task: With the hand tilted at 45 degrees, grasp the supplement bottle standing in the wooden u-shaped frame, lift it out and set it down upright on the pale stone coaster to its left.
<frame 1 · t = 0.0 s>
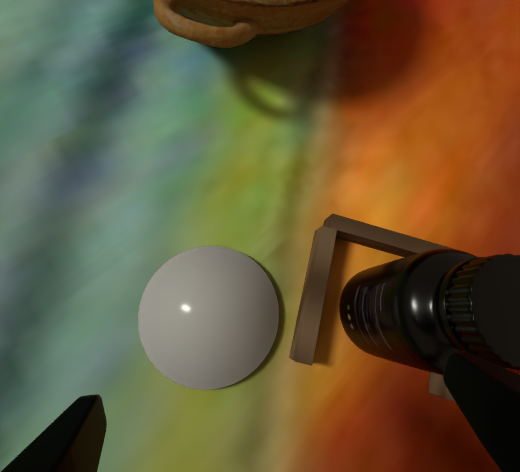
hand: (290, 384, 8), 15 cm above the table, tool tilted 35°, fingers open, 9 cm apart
supplement bottle: (375, 310, 24), on the table
coaster: (211, 313, 22), on the table
wooden u-shaped frame: (376, 310, 24), on the table
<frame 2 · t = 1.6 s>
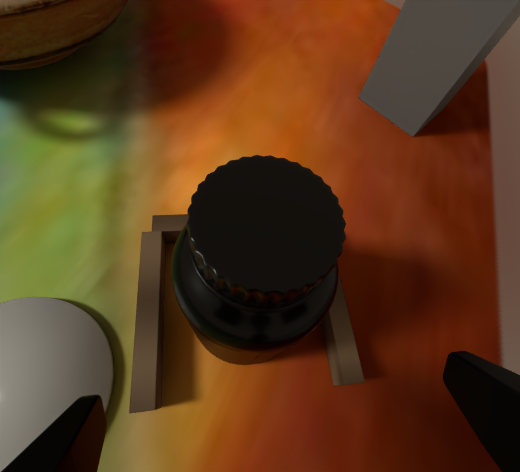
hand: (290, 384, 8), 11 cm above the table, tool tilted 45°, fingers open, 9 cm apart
perfume bottle: (401, 104, 31), on the table
supplement bottle: (243, 309, 20), on the table
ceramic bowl: (24, 34, 29), on the table
coaster: (14, 391, 16), on the table
wooden u-shaped frame: (243, 309, 19), on the table
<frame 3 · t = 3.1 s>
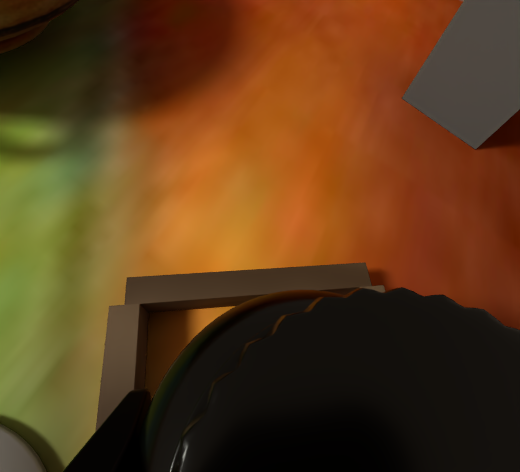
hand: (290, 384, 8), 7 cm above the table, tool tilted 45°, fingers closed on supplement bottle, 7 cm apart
perfume bottle: (455, 106, 24), on the table
supplement bottle: (263, 419, 13), on the table, touching gripper
wooden u-shaped frame: (263, 419, 13), on the table
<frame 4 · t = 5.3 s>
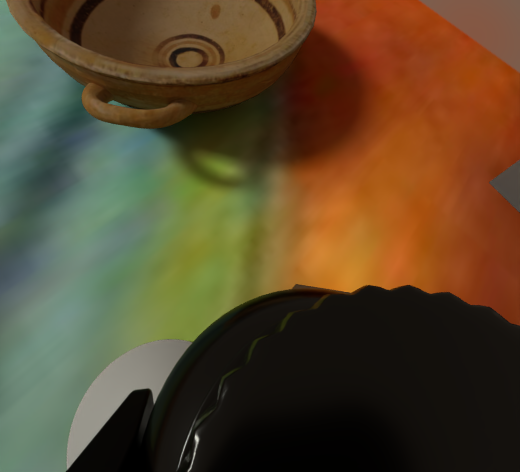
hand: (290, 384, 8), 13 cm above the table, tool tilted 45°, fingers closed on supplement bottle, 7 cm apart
supplement bottle: (265, 418, 13), point 6 cm above the table, touching gripper
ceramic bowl: (183, 71, 32), on the table
coaster: (162, 428, 18), on the table
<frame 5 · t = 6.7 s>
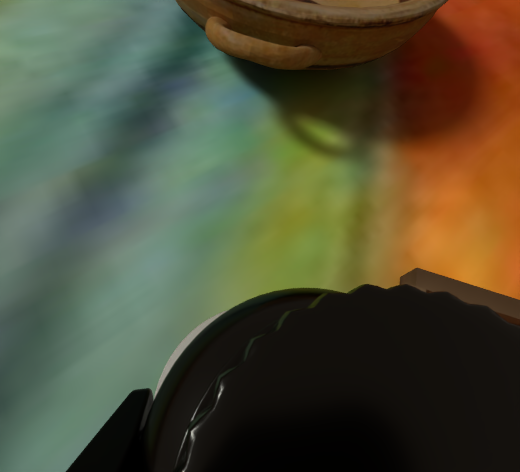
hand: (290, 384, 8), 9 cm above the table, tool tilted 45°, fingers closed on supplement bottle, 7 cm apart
supplement bottle: (264, 417, 13), point 2 cm above the table, touching gripper
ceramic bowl: (285, 34, 30), on the table
coaster: (255, 406, 15), on the table
wooden u-shaped frame: (490, 410, 16), on the table
when the fingers open (8 cm above the table, at t = 7.5 s): supplement bottle stays where it is, resting on coaster.
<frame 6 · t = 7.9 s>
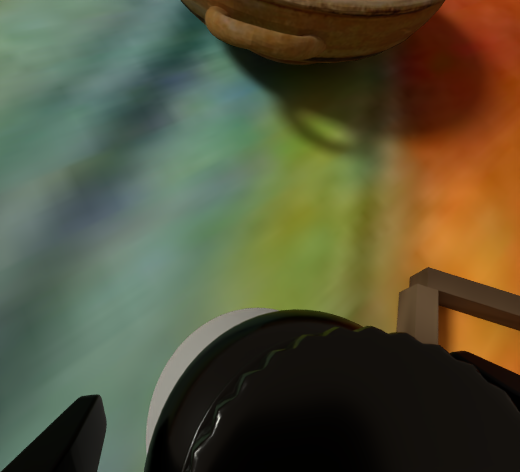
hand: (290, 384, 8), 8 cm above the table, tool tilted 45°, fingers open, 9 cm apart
supplement bottle: (262, 422, 14), resting on coaster
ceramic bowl: (286, 29, 29), on the table
coaster: (258, 415, 14), on the table
wooden u-shaped frame: (508, 418, 15), on the table
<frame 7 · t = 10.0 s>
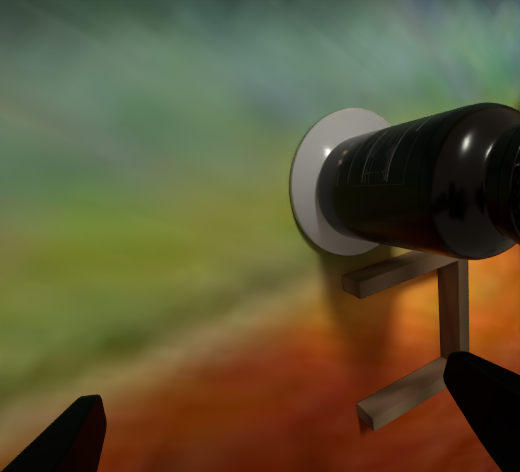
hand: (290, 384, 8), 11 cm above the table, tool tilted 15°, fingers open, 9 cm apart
supplement bottle: (352, 187, 21), resting on coaster
coaster: (351, 184, 21), on the table
wooden u-shaped frame: (398, 327, 25), on the table
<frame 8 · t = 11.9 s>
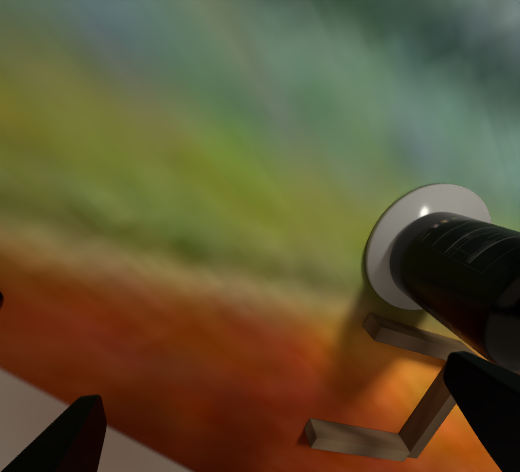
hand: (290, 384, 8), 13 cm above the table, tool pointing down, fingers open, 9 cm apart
supplement bottle: (426, 252, 22), resting on coaster
coaster: (426, 249, 23), on the table
wooden u-shaped frame: (382, 385, 27), on the table
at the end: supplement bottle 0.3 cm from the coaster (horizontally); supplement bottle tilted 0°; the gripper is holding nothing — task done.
